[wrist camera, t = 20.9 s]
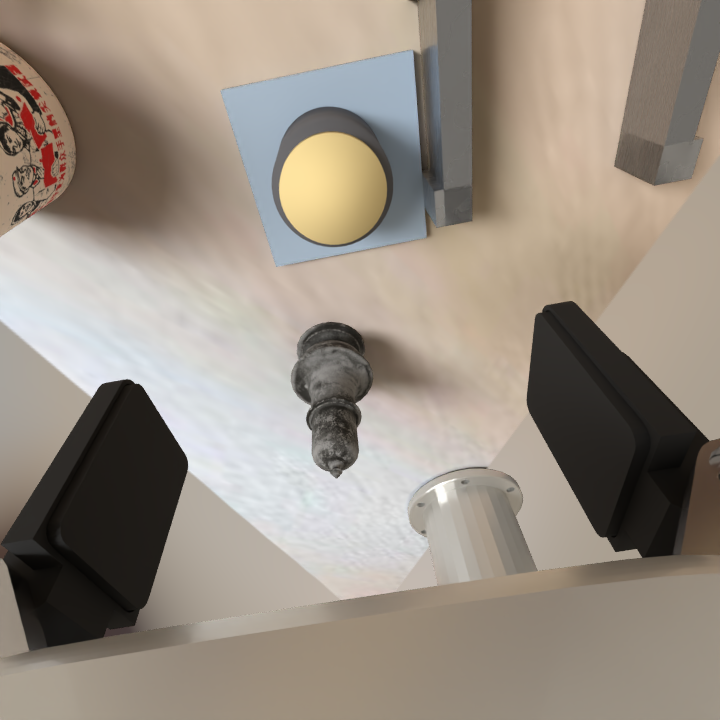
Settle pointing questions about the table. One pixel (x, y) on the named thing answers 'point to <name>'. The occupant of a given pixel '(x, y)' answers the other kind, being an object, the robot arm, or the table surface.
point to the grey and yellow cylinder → (331, 178)
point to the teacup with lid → (30, 142)
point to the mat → (351, 92)
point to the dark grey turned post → (332, 391)
